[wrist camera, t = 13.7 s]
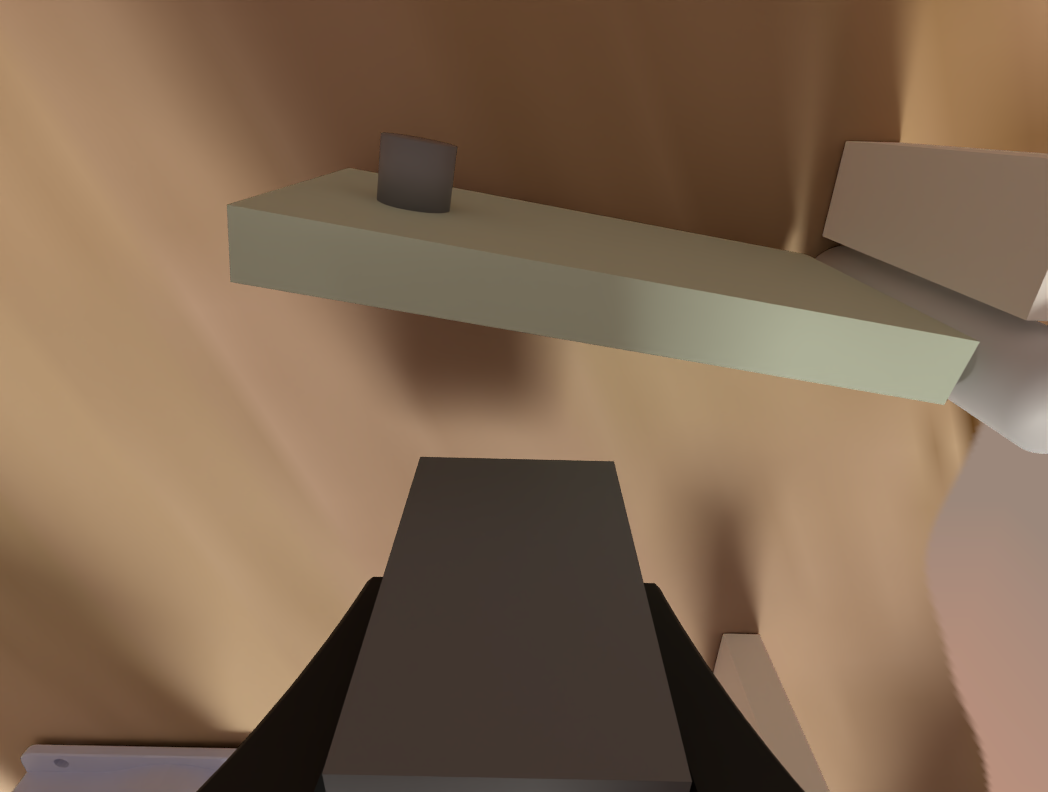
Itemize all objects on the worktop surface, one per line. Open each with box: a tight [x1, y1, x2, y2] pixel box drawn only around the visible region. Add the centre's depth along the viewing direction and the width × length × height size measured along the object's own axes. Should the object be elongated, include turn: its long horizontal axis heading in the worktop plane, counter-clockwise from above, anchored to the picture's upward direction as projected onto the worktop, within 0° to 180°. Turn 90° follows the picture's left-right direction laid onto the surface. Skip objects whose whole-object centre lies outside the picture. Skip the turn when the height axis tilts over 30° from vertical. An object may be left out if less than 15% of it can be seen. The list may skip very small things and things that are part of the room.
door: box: [227, 133, 980, 405], centre depth 10 cm, size 2×10×6 cm, turn 80°
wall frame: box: [713, 141, 1048, 792], centre depth 13 cm, size 2×18×6 cm, turn 179°
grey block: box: [322, 457, 692, 792], centre depth 10 cm, size 4×5×6 cm
